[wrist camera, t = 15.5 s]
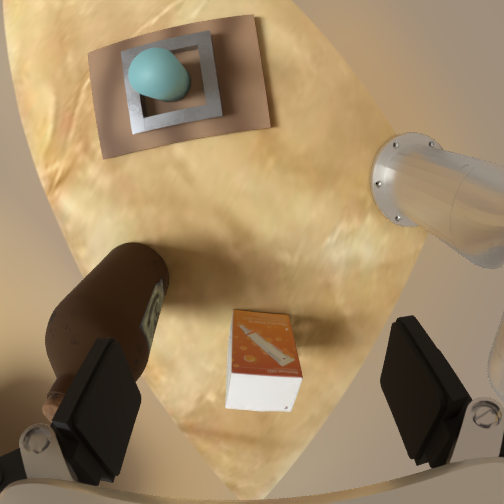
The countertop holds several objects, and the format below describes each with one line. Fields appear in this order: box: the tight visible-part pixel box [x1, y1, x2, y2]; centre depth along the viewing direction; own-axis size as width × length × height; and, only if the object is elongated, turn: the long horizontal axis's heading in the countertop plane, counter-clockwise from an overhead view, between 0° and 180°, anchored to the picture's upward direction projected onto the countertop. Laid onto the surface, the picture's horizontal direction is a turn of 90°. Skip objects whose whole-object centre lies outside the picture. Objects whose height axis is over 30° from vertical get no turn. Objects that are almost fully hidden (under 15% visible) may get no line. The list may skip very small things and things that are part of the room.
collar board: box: [88, 14, 271, 160], centre depth 31 cm, size 20×14×3 cm
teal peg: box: [128, 48, 191, 102], centre depth 27 cm, size 4×4×9 cm
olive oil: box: [42, 243, 169, 422], centre depth 30 cm, size 11×11×25 cm
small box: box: [225, 310, 303, 412], centre depth 40 cm, size 8×6×13 cm
